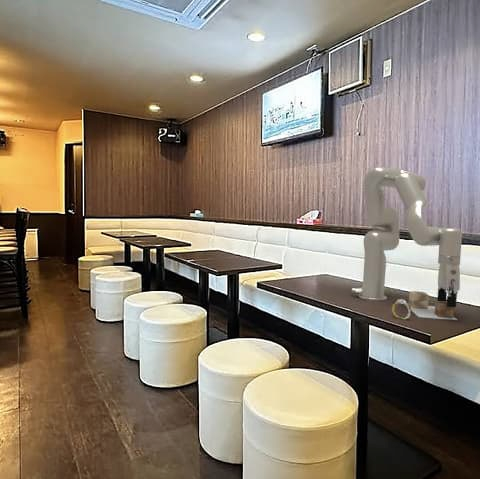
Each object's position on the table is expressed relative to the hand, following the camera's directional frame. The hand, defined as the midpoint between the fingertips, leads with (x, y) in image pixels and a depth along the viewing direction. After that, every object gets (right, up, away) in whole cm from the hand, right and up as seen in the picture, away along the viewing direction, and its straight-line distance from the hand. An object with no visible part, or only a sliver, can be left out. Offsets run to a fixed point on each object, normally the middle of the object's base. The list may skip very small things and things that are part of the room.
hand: (446, 304), depth 153 cm
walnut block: (-1, -5, +1) cm, 5 cm away
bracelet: (-20, -6, -4) cm, 21 cm away
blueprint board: (-3, -5, +7) cm, 9 cm away
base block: (-5, -4, +14) cm, 15 cm away
